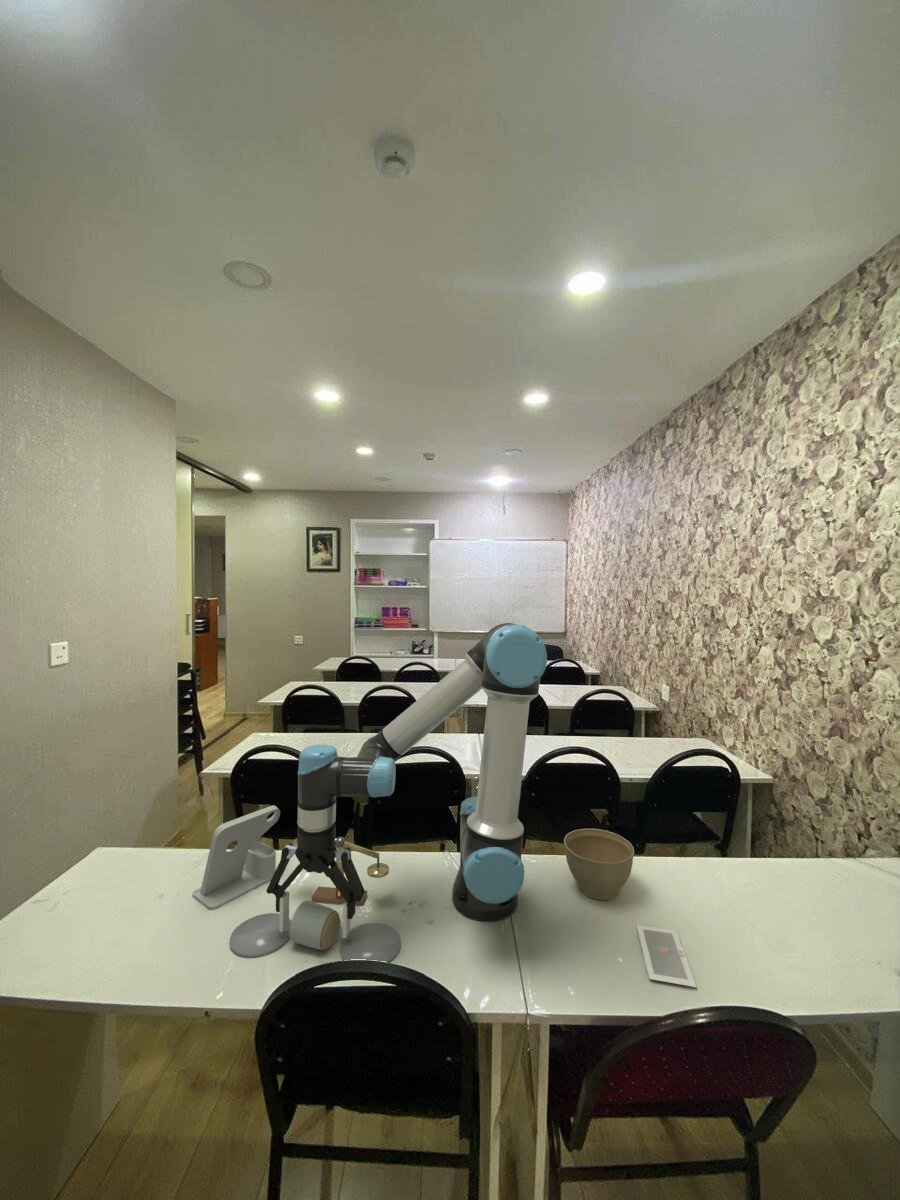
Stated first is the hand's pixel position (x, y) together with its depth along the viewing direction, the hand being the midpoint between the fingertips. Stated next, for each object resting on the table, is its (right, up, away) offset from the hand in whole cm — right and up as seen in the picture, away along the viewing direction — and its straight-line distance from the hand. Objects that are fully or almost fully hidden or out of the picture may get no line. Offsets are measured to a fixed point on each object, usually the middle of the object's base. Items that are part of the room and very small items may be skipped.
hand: (315, 930), depth 96 cm
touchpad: (+69, -3, -3) cm, 69 cm away
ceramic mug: (0, -3, +1) cm, 3 cm away
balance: (+2, -2, +14) cm, 14 cm away
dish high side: (-11, -2, +1) cm, 12 cm away
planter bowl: (+63, -3, +18) cm, 66 cm away
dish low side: (+11, -2, -1) cm, 12 cm away
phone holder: (-24, -3, +19) cm, 31 cm away
